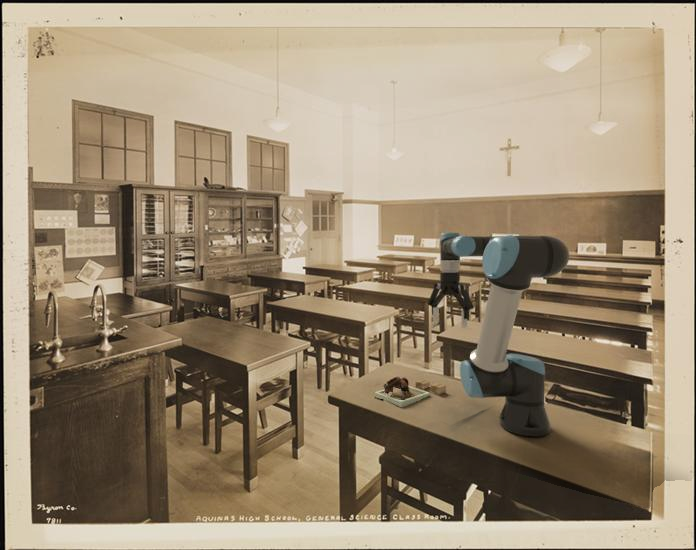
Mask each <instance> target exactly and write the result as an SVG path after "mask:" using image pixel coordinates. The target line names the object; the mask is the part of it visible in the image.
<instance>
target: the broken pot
mask: <svg viewBox="0 0 696 550" xmlns="http://www.w3.org/2000/svg"><path fill="white" fill-rule="evenodd" d="M408 386H410V385H409V380H408V379H407V378H406V377H400V376H396V377H393V378H391V379H389V380H387V381H386V383H383V388H384V389H385V390H384V389H383V390H384V392H385V393H387V394H388V393H389V392H392V393H393V387H395V388H398V389H401V390H400V391H401V392H402V393H403V392H404V393H405V397H406V399H408V398H411V397H412V395H411V391H410V388H408Z"/></svg>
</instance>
